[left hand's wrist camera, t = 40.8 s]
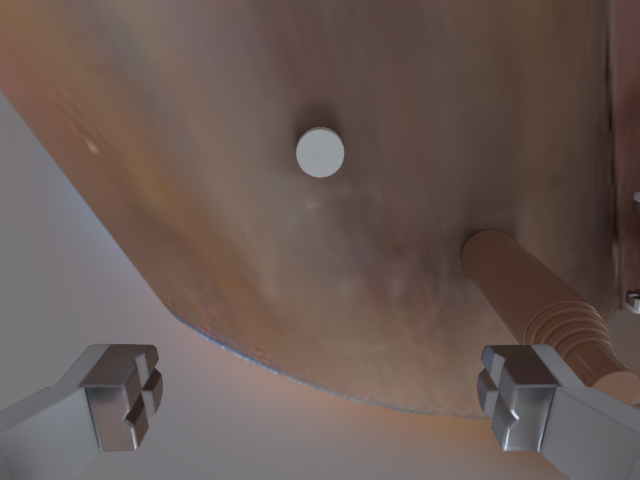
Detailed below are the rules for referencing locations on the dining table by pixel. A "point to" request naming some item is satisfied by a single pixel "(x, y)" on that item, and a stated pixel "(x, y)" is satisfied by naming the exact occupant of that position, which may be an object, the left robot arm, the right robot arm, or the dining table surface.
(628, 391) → the bottle
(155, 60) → the dining table surface
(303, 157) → the cap
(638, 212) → the right robot arm
